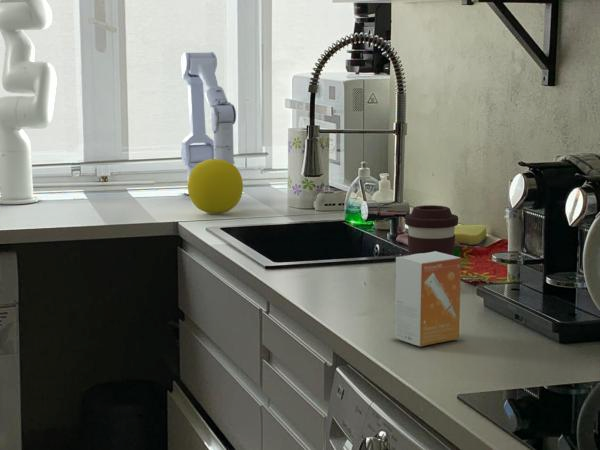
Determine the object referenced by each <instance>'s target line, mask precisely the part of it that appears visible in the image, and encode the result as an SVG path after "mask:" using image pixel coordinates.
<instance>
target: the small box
mask: <svg viewBox="0 0 600 450" xmlns="http://www.w3.org/2000/svg"><path fill="white" fill-rule="evenodd" d="M461 272H462V257H460V256H455V255H454V256H452V255H448V254H444V253H440V252H436V251H434V252H429V253H420V254H413V255H409V254H408V255H402V256H396V257H395V306H394V308H395V309H394V310H395V311H394V312H395V313H394V321H395V322H394V338H395V339H397V340H399V341H402V342H405V343H408V344H411V345H414V346H416V347H417V346H418V347H424V346H425V347H426V346H428V345H434V344H438V343H444V342H450V341H456V340H459V339H460V319H461V318H460V314H461V313H460V312H461V280H462V279H461V278H462V277H461V274H462V273H461Z"/></svg>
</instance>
